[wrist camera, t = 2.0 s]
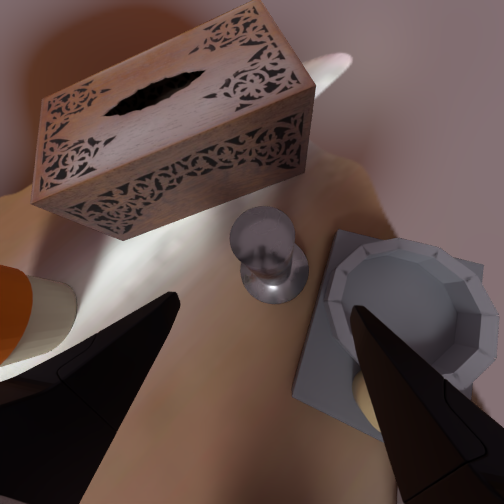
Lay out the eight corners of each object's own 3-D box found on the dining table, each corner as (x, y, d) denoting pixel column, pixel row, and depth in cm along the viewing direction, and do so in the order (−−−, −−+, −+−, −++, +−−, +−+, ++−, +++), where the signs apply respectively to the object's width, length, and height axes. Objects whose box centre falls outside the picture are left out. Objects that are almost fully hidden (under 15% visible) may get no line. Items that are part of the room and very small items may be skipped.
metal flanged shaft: (296, 314, 19) (307, 323, 9) (234, 290, 21) (182, 275, 10) (314, 251, 20) (343, 194, 10) (255, 234, 22) (228, 171, 12)
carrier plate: (445, 464, 14) (494, 513, 11) (291, 389, 17) (292, 409, 14) (467, 268, 17) (510, 259, 14) (334, 234, 20) (344, 220, 17)
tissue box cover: (124, 241, 26) (30, 204, 16) (118, 163, 30) (42, 98, 21) (304, 173, 24) (316, 85, 14) (268, 100, 28) (258, -3, 19)
